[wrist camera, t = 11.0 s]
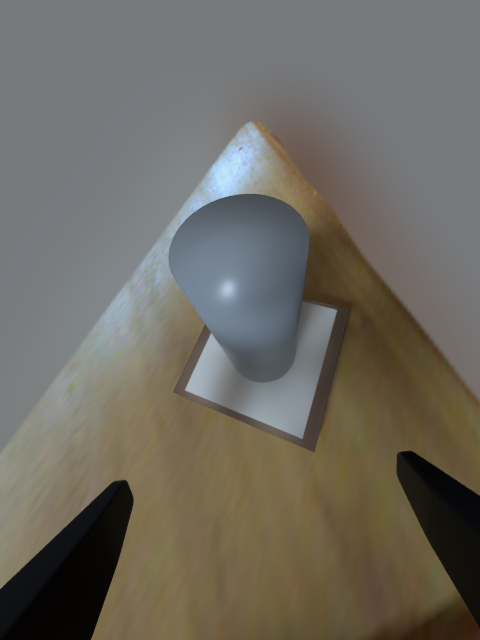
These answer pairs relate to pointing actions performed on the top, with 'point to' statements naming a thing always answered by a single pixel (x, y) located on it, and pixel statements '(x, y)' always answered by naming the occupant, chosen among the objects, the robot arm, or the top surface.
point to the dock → (279, 395)
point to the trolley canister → (246, 278)
